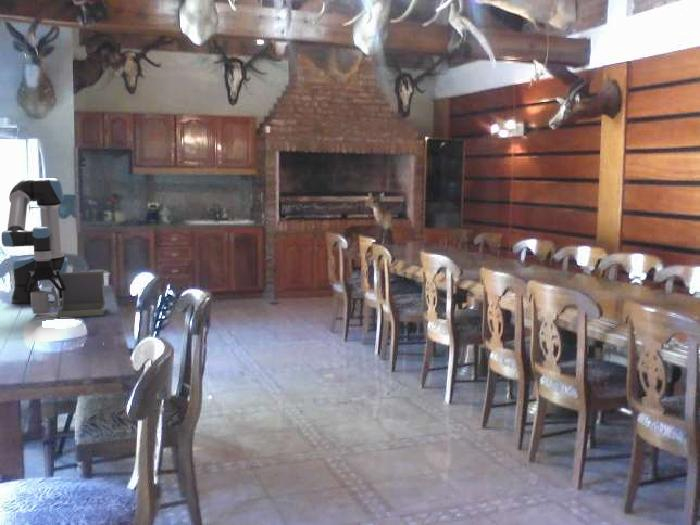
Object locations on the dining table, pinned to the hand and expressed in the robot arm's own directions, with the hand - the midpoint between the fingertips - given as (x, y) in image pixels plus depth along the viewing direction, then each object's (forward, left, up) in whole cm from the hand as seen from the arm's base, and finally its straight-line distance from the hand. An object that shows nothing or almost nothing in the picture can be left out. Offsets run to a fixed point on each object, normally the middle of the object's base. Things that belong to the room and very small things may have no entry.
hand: (45, 306), depth 351 cm
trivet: (0, 0, -5) cm, 5 cm away
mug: (0, 0, -3) cm, 3 cm away
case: (-1, +16, -5) cm, 17 cm away
